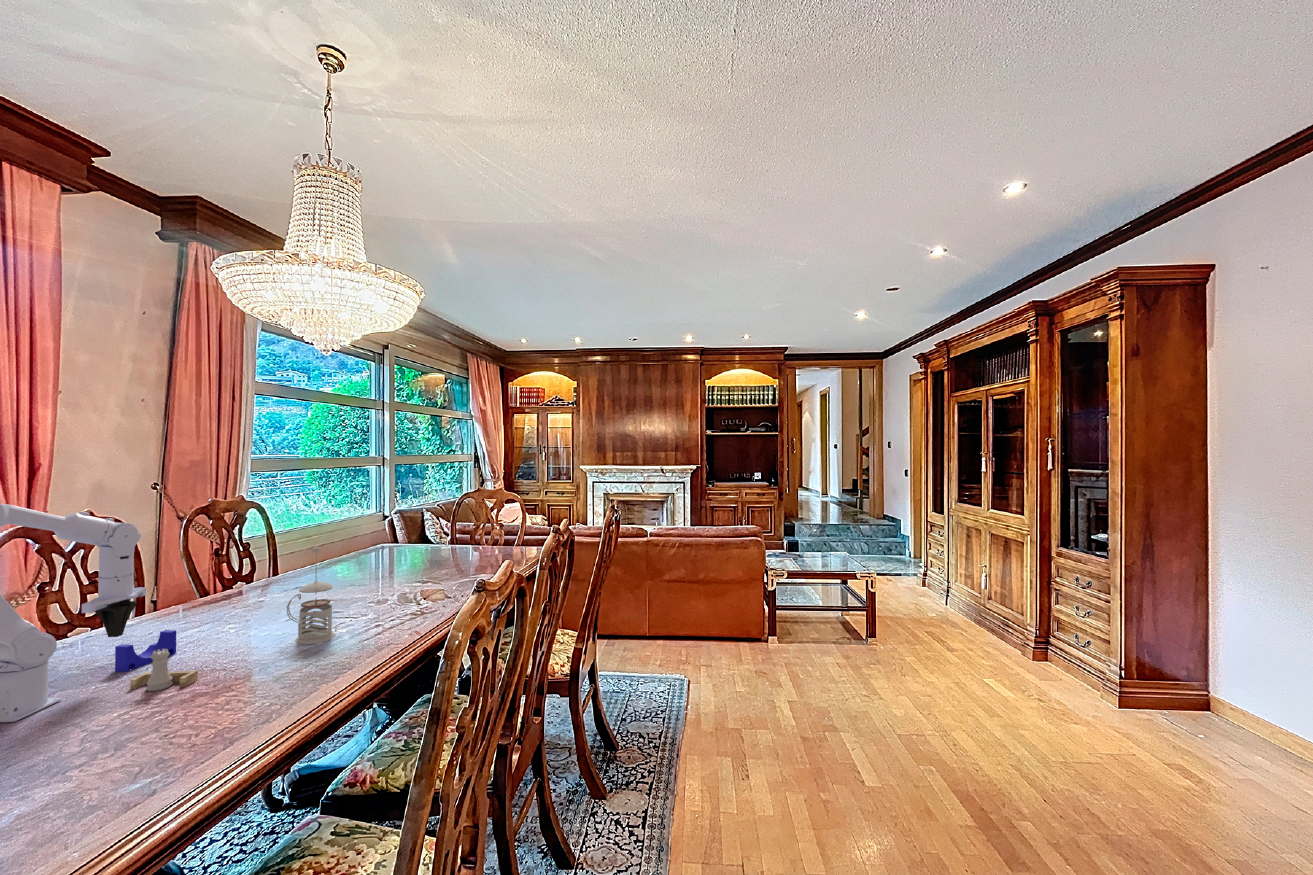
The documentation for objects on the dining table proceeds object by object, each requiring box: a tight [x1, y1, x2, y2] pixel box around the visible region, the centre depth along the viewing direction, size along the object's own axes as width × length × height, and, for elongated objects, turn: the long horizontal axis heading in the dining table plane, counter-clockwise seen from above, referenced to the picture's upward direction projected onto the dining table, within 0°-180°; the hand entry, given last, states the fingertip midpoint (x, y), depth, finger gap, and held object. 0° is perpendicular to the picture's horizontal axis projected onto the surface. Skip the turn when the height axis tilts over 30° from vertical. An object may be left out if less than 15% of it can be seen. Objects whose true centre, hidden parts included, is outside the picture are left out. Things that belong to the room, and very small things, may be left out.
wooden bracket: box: [129, 670, 199, 690], centre depth 124 cm, size 4×11×2 cm, turn 95°
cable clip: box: [114, 629, 177, 673], centre depth 138 cm, size 12×4×6 cm, turn 173°
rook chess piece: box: [145, 649, 174, 692], centre depth 123 cm, size 4×4×8 cm
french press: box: [286, 546, 337, 645], centre depth 155 cm, size 10×12×25 cm
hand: (115, 635), depth 127 cm, fingers closed
